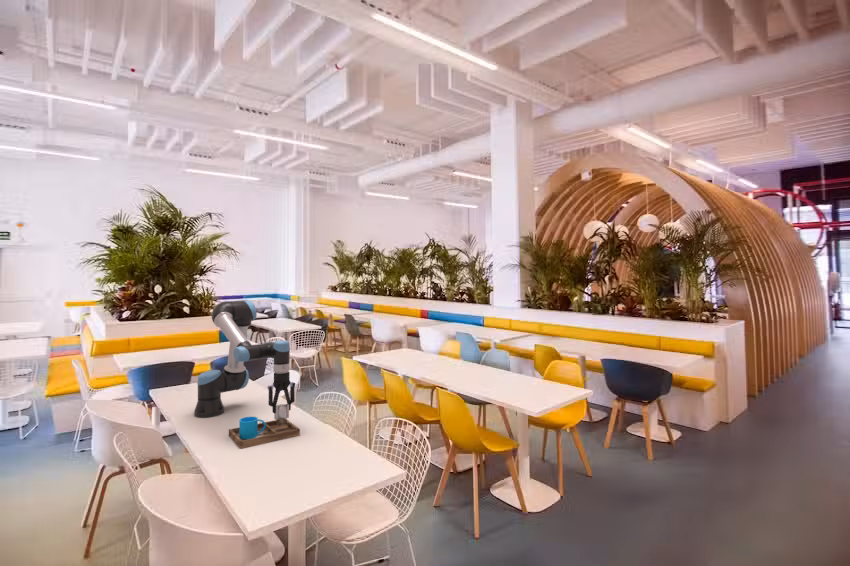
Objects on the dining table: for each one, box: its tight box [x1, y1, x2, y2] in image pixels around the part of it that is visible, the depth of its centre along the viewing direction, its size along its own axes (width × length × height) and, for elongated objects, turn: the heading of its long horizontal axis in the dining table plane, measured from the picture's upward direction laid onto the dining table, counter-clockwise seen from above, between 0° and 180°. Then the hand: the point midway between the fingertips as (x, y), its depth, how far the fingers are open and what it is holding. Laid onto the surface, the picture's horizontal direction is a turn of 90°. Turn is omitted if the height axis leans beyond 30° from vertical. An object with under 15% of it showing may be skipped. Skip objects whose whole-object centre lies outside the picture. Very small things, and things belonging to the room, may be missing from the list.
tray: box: [228, 419, 301, 450], centre depth 215 cm, size 20×28×3 cm
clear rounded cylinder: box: [276, 403, 288, 425], centre depth 220 cm, size 5×5×9 cm
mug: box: [238, 416, 266, 439], centre depth 212 cm, size 12×8×8 cm
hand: (281, 418), depth 220 cm, fingers closed on clear rounded cylinder, 5 cm apart
